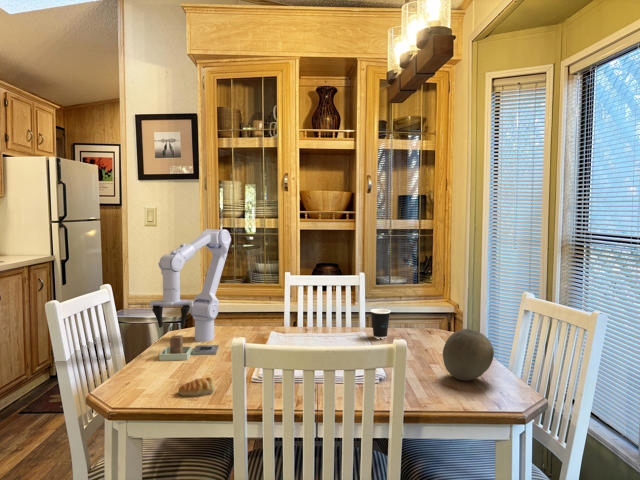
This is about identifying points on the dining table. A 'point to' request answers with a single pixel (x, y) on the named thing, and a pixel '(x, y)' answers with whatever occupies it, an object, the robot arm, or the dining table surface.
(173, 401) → the dining table surface
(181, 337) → the strut
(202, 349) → the socket block
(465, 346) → the cantaloupe
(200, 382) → the pastry
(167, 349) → the bin
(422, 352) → the dining table surface
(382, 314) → the dixie cup
